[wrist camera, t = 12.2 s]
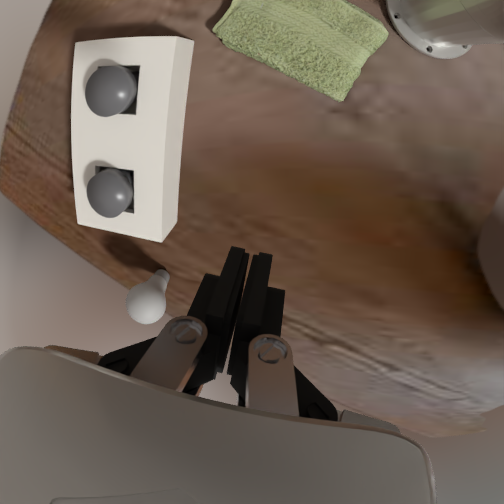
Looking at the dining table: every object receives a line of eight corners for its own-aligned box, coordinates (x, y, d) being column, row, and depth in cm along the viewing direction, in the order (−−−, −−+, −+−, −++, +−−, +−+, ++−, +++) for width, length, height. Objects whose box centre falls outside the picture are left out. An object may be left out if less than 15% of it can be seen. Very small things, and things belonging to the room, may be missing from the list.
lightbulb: (173, 255, 49) (146, 299, 40) (186, 285, 52) (164, 332, 43) (142, 259, 51) (112, 301, 41) (155, 288, 54) (130, 332, 44)
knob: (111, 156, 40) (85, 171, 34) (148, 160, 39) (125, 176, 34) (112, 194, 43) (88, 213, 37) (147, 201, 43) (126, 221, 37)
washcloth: (263, -40, 25) (259, -48, 23) (390, 30, 28) (397, 27, 25) (211, 40, 32) (203, 38, 29) (336, 109, 35) (339, 112, 32)
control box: (101, 42, 32) (75, 42, 27) (194, 40, 32) (176, 36, 27) (98, 206, 46) (77, 223, 41) (176, 222, 46) (161, 242, 41)
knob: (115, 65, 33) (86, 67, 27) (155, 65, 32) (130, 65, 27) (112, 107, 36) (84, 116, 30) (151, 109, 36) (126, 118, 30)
